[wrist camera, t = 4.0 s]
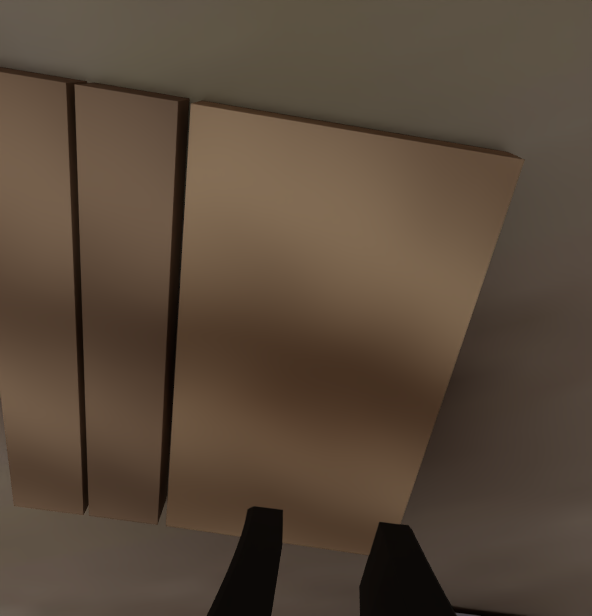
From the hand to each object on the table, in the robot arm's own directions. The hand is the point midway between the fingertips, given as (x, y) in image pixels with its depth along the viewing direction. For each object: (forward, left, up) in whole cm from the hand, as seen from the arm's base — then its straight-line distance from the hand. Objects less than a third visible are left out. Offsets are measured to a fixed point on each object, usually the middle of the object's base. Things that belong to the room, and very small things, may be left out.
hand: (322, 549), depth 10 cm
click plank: (+1, 0, -6) cm, 6 cm away
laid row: (+1, +7, -7) cm, 10 cm away
